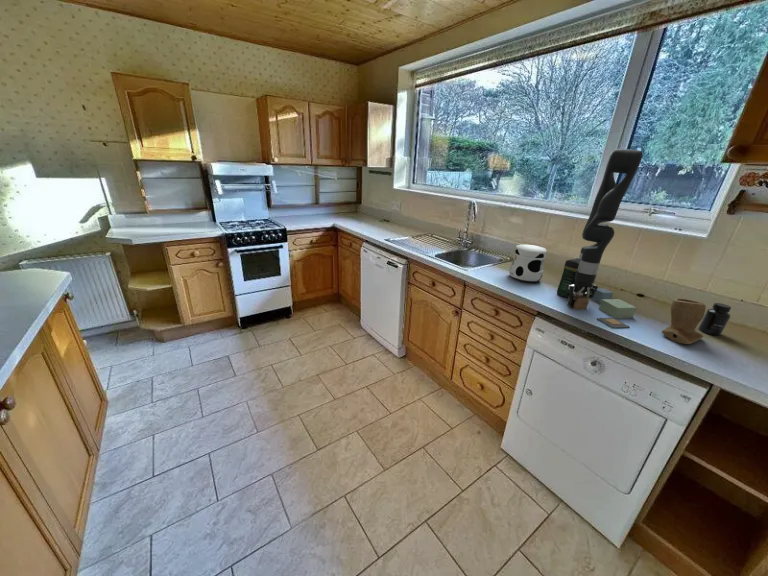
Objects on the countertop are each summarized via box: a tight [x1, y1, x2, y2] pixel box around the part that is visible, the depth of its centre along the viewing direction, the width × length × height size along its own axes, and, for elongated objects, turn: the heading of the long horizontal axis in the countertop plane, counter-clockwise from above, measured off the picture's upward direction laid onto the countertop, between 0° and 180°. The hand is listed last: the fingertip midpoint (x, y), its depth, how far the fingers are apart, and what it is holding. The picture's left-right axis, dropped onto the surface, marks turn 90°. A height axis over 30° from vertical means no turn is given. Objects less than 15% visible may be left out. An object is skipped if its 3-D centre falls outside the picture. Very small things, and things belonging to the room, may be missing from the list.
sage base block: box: [598, 298, 637, 319], centre depth 141 cm, size 9×9×5 cm
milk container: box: [508, 243, 547, 283], centre depth 175 cm, size 17×17×18 cm
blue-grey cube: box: [590, 287, 614, 304], centre depth 153 cm, size 6×6×6 cm
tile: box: [596, 316, 630, 329], centre depth 131 cm, size 8×8×1 cm
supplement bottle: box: [698, 302, 732, 337], centre depth 127 cm, size 7×7×12 cm
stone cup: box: [661, 297, 707, 345], centre depth 121 cm, size 15×12×15 cm
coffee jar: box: [556, 257, 581, 298], centre depth 156 cm, size 10×8×19 cm
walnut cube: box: [566, 293, 591, 311], centre depth 144 cm, size 6×6×6 cm
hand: (576, 306), depth 145 cm, fingers closed on walnut cube, 5 cm apart
